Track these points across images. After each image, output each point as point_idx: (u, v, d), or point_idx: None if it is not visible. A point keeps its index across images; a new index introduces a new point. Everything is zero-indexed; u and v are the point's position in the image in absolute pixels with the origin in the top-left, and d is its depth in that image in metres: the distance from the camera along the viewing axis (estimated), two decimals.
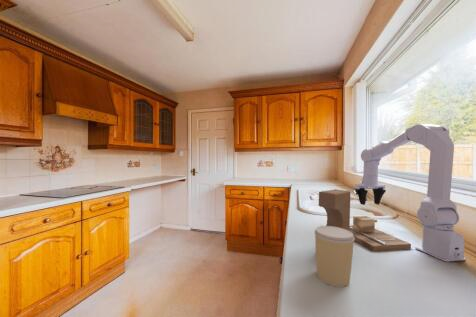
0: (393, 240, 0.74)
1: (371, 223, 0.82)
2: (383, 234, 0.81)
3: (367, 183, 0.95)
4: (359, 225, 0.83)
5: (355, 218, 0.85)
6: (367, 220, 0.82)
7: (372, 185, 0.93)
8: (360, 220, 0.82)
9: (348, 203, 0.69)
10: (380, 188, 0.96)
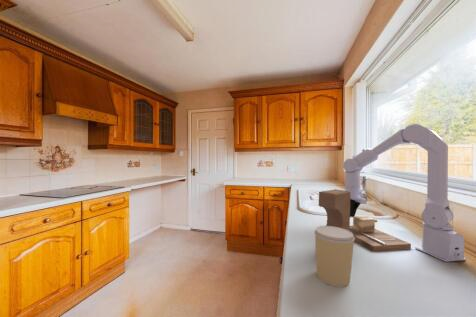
0: (393, 240, 0.74)
1: (371, 223, 0.82)
2: (383, 234, 0.81)
3: None
4: (359, 225, 0.83)
5: (355, 218, 0.85)
6: (367, 220, 0.82)
7: None
8: (360, 220, 0.82)
9: (348, 203, 0.69)
10: (352, 200, 0.90)
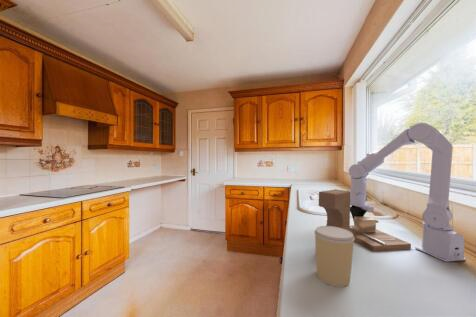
0: (393, 240, 0.74)
1: (373, 224, 0.82)
2: (383, 234, 0.81)
3: None
4: (360, 226, 0.82)
5: (356, 218, 0.84)
6: (368, 220, 0.81)
7: (350, 202, 0.89)
8: (361, 220, 0.82)
9: (348, 203, 0.69)
10: (358, 207, 0.86)
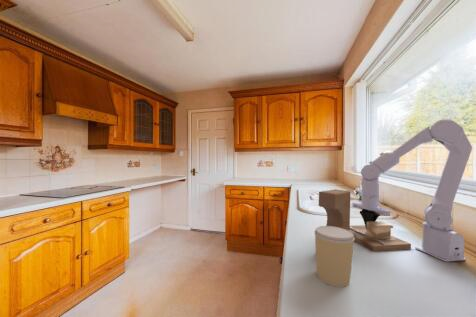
0: (393, 240, 0.74)
1: (387, 230, 0.75)
2: None
3: None
4: (373, 232, 0.76)
5: (369, 224, 0.78)
6: (382, 226, 0.75)
7: (361, 206, 0.82)
8: (375, 226, 0.75)
9: (348, 203, 0.69)
10: (371, 211, 0.80)
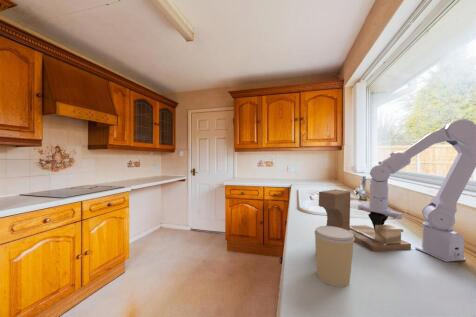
0: None
1: (398, 234, 0.71)
2: None
3: None
4: (383, 236, 0.72)
5: (378, 227, 0.74)
6: (393, 230, 0.71)
7: (370, 208, 0.77)
8: (384, 230, 0.71)
9: (348, 203, 0.69)
10: (380, 214, 0.76)
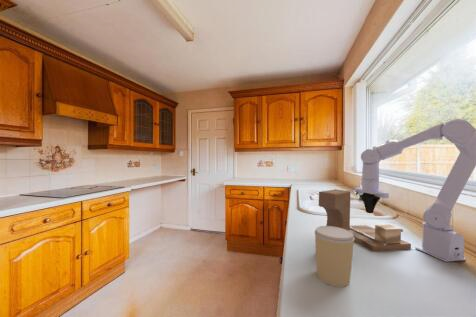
0: None
1: (397, 234, 0.71)
2: None
3: None
4: (382, 236, 0.72)
5: (378, 227, 0.74)
6: (392, 230, 0.71)
7: (362, 189, 0.84)
8: (384, 230, 0.71)
9: (348, 203, 0.69)
10: (371, 194, 0.82)
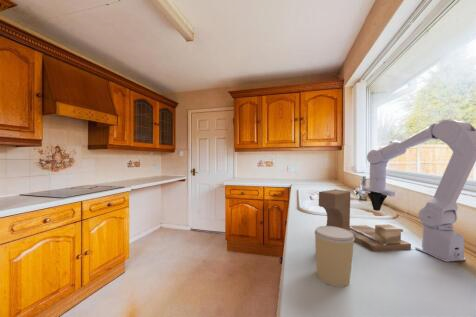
0: None
1: (397, 234, 0.71)
2: None
3: None
4: (382, 236, 0.72)
5: (378, 227, 0.74)
6: (392, 230, 0.71)
7: (369, 188, 0.88)
8: (384, 230, 0.71)
9: (348, 203, 0.69)
10: (378, 193, 0.86)
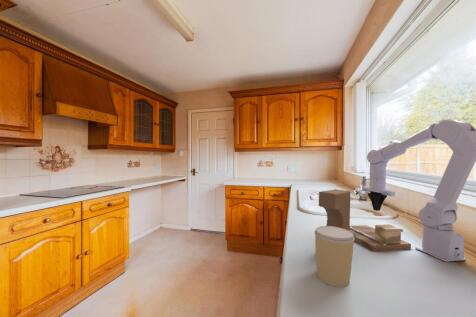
0: None
1: (397, 234, 0.71)
2: None
3: None
4: (382, 236, 0.72)
5: (378, 227, 0.74)
6: (392, 230, 0.71)
7: (369, 188, 0.88)
8: (384, 230, 0.71)
9: (348, 203, 0.69)
10: (378, 193, 0.86)
